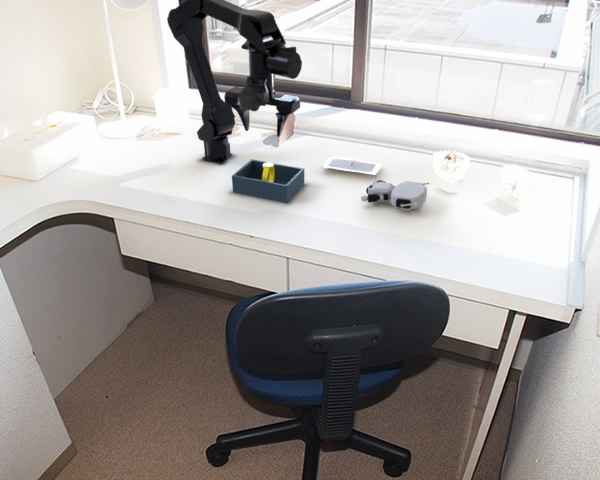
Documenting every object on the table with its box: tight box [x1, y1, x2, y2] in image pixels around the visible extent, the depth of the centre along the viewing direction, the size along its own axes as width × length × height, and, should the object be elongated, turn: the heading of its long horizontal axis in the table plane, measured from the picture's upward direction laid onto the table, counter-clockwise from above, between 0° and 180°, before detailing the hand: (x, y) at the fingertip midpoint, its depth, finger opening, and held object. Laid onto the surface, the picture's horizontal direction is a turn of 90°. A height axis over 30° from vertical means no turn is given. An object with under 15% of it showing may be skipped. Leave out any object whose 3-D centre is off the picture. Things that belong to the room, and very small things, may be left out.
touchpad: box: [322, 156, 383, 176], centre depth 153 cm, size 8×15×2 cm, turn 70°
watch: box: [262, 162, 275, 182], centre depth 141 cm, size 6×3×6 cm, turn 164°
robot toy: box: [360, 179, 431, 212], centre depth 136 cm, size 12×4×15 cm
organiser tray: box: [231, 159, 305, 204], centre depth 142 cm, size 15×11×5 cm
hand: (262, 133), depth 144 cm, fingers open, 9 cm apart
